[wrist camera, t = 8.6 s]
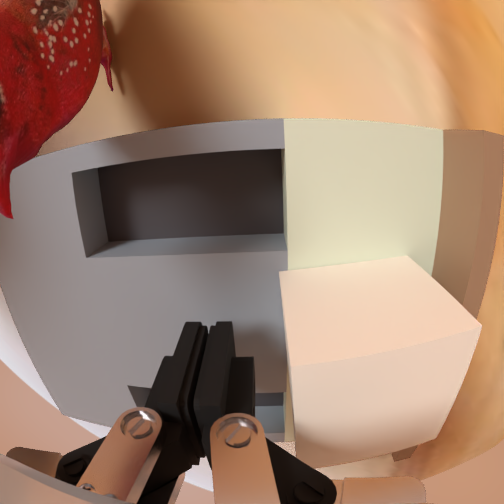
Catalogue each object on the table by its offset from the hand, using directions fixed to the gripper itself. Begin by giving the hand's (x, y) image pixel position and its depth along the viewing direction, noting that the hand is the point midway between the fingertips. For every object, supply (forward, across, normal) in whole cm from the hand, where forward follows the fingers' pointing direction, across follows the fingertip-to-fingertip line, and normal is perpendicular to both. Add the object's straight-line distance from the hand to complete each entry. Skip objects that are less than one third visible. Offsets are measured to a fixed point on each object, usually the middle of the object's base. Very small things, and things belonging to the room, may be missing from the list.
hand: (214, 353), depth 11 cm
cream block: (+1, -5, 0) cm, 5 cm away
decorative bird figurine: (+4, +5, -15) cm, 16 cm away
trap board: (+4, +1, 0) cm, 4 cm away
